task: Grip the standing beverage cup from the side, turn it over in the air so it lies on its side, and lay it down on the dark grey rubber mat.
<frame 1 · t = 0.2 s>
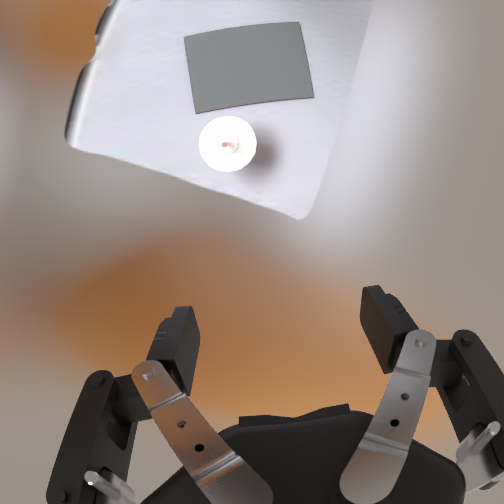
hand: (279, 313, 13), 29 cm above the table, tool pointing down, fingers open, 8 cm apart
beverage cup: (231, 142, 37), on the table
mat: (248, 63, 32), on the table
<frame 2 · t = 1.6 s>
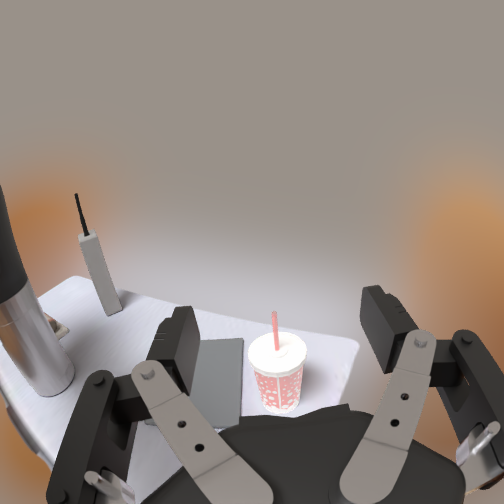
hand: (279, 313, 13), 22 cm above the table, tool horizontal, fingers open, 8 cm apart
beverage cup: (281, 400, 32), on the table
vintage mobile phone: (113, 309, 55), on the table
packaged product: (38, 333, 48), on the table
mat: (198, 380, 36), on the table
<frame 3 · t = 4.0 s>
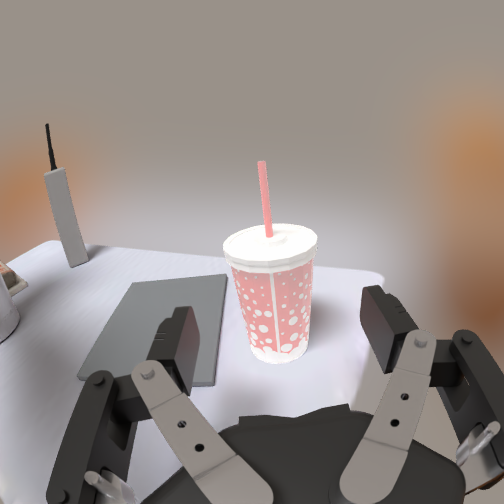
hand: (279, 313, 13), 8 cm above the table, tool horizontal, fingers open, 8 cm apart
beverage cup: (279, 345, 22), on the table
vintage mobile phone: (79, 261, 45), on the table
packaged product: (0, 291, 38), on the table
mat: (161, 323, 26), on the table
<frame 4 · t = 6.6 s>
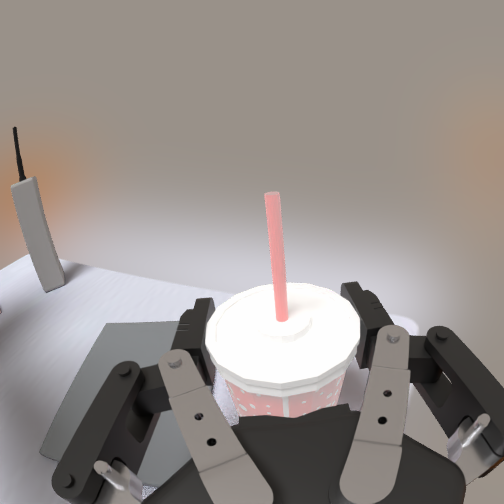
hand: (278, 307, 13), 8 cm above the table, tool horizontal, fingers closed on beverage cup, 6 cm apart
beverage cup: (288, 434, 15), on the table, touching gripper
vintage mobile phone: (55, 284, 37), on the table
mat: (136, 388, 19), on the table
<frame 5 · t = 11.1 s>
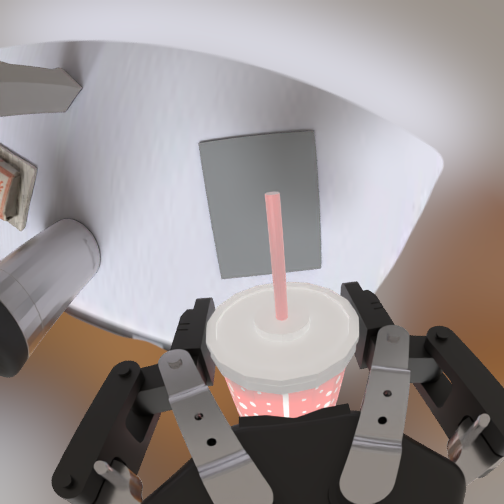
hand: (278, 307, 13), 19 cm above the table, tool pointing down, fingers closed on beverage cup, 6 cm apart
beverage cup: (287, 433, 15), point 22 cm above the table, touching gripper
vintage mobile phone: (65, 89, 25), on the table
mat: (264, 207, 31), on the table
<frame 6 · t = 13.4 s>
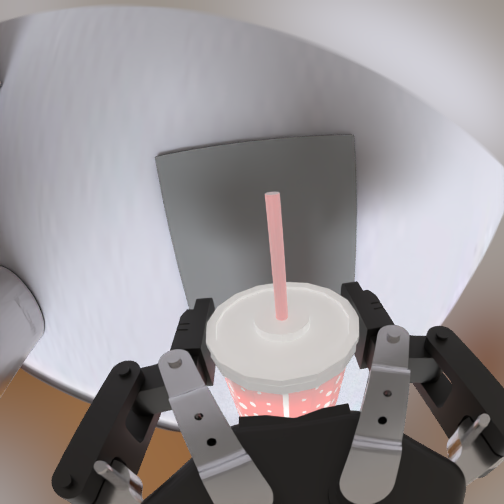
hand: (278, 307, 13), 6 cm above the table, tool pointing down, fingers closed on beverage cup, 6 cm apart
beverage cup: (287, 433, 15), point 9 cm above the table, touching gripper
mat: (268, 262, 19), on the table
when the fingers open (3 cm above the table, at t = 15.2 s): beverage cup drops 1 cm, resting on mat.
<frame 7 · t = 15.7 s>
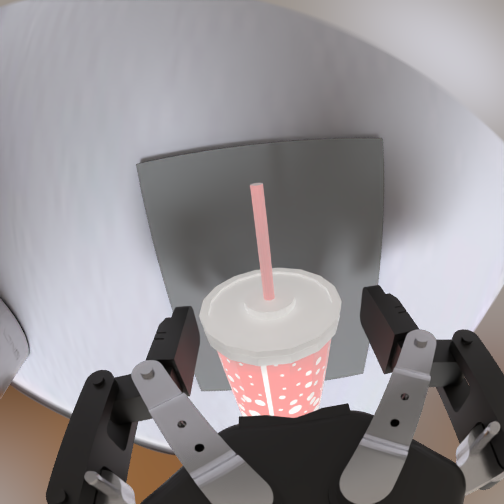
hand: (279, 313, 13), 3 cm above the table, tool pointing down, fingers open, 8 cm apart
beverage cup: (281, 415, 16), point 3 cm above the table, touching mat
mat: (275, 290, 16), on the table
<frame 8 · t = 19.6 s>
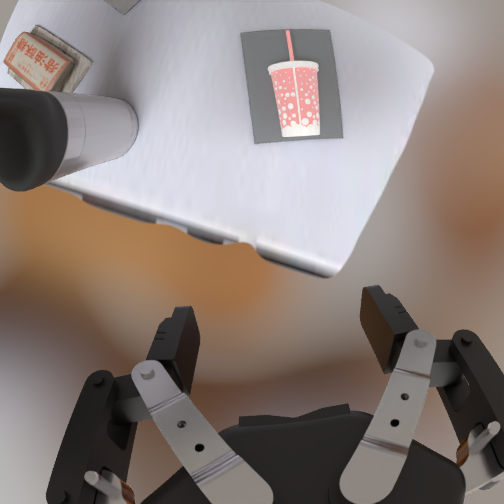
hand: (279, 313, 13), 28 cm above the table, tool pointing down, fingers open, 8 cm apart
beverage cup: (301, 136, 32), point 3 cm above the table, touching mat
vintage mobile phone: (125, 0, 26), on the table
packaged product: (48, 66, 29), on the table
mat: (293, 82, 33), on the table
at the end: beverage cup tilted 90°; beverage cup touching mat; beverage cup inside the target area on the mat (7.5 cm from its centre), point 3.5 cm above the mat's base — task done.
